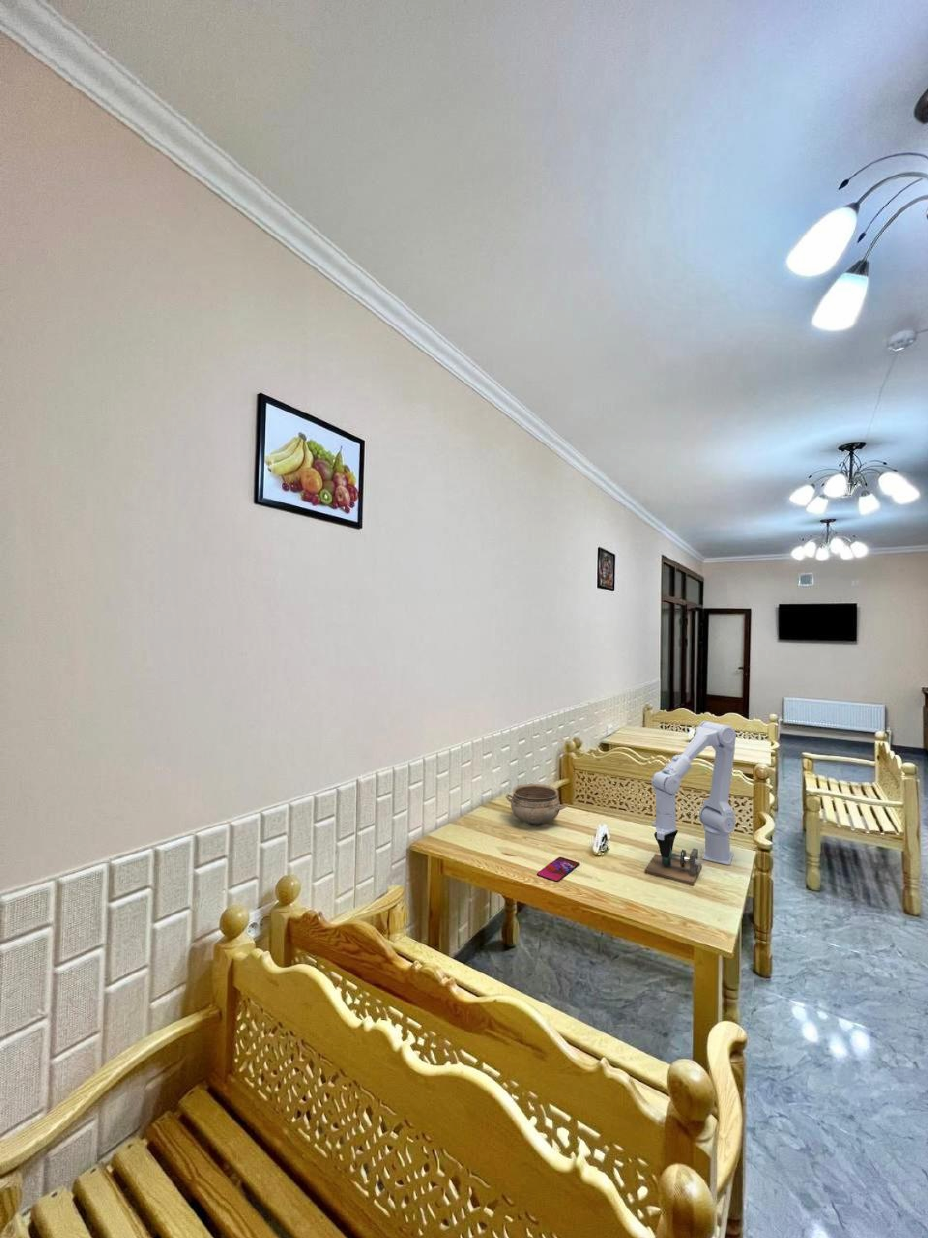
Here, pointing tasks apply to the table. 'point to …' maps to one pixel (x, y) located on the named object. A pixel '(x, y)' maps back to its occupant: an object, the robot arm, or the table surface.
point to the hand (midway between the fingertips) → (666, 854)
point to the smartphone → (558, 869)
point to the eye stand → (675, 869)
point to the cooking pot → (535, 803)
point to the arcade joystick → (681, 858)
